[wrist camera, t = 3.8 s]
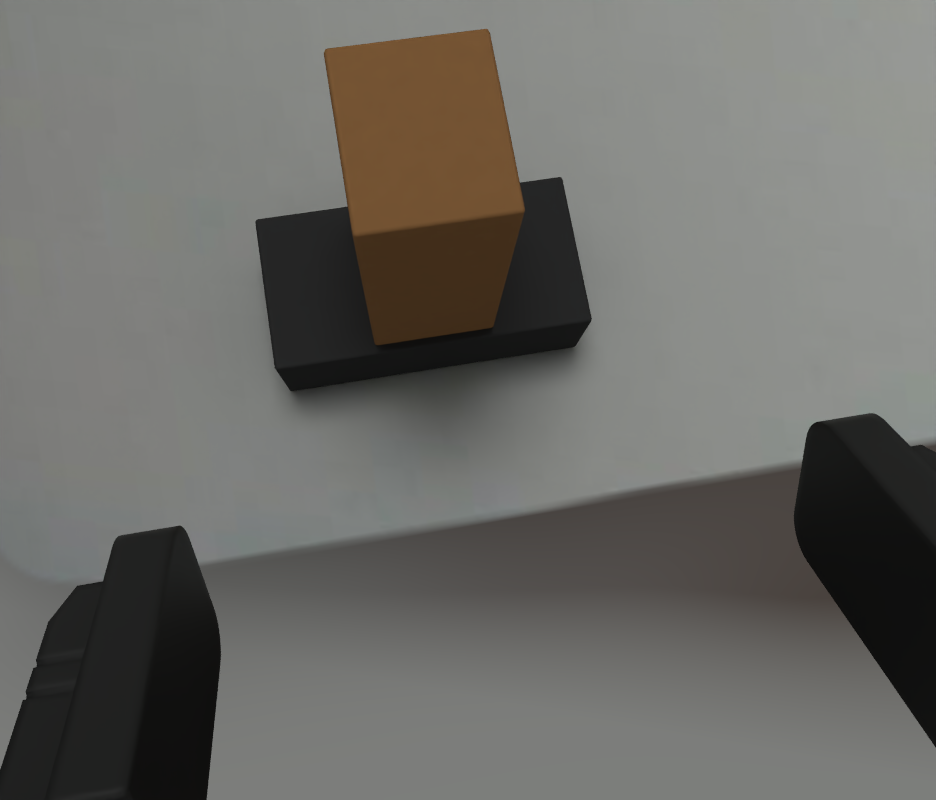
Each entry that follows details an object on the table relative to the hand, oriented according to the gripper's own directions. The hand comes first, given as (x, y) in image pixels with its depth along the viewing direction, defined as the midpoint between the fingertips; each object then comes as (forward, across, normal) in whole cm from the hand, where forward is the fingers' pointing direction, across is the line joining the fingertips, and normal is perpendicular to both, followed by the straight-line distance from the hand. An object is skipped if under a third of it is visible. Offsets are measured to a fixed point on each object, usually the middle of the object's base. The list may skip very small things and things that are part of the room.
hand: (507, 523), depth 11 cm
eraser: (+14, 0, +4) cm, 14 cm away
